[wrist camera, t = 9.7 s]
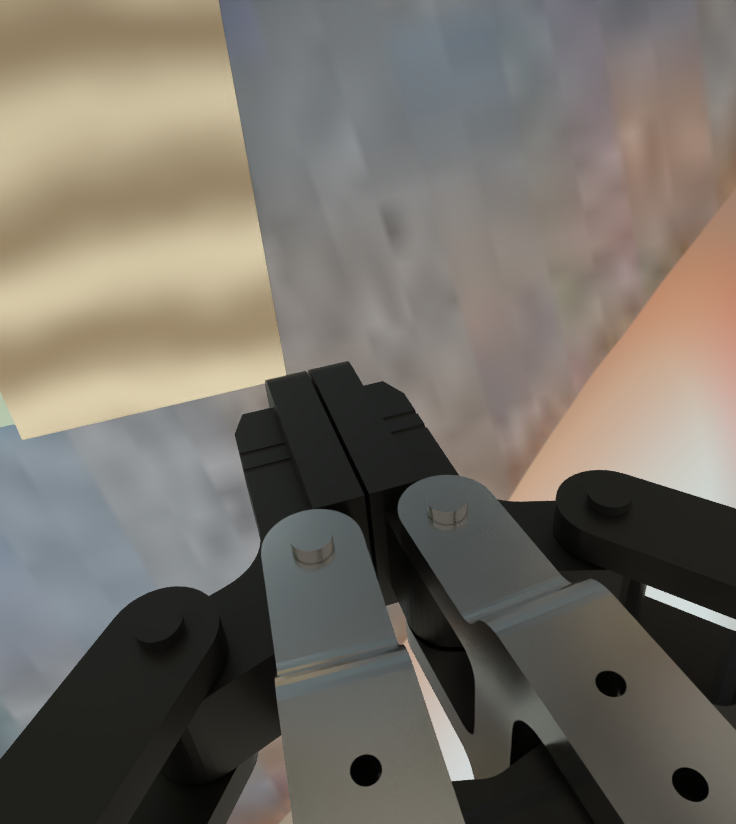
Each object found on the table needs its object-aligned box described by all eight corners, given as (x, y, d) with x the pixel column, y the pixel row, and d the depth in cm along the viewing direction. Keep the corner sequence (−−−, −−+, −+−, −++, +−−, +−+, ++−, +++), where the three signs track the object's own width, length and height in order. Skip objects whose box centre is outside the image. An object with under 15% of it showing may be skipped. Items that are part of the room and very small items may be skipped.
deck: (-179, -77, 26) (-220, -83, 23) (187, -109, 29) (196, -118, 26) (29, 400, 39) (22, 439, 36) (273, 346, 42) (286, 378, 38)
